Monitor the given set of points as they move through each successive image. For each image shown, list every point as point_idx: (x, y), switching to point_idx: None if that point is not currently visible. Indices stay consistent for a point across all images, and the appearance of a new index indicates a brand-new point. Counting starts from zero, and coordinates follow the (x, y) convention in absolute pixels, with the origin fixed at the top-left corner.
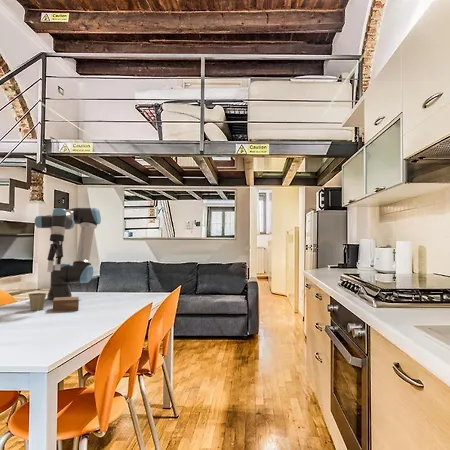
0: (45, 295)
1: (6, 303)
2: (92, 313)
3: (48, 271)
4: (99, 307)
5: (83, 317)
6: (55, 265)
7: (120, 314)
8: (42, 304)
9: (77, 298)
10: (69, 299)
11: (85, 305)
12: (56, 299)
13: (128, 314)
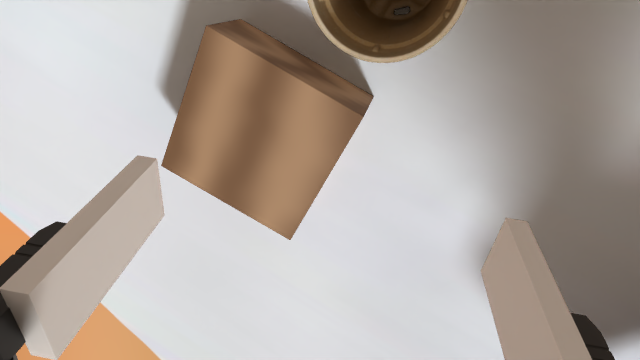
0: (334, 32)
1: None
2: (86, 140)
3: (503, 229)
4: (229, 259)
5: (2, 51)
6: (105, 196)
7: (18, 198)
8: (349, 3)
9: (214, 190)
10: (197, 133)
11: (336, 260)
12: (246, 71)
13: (7, 216)
